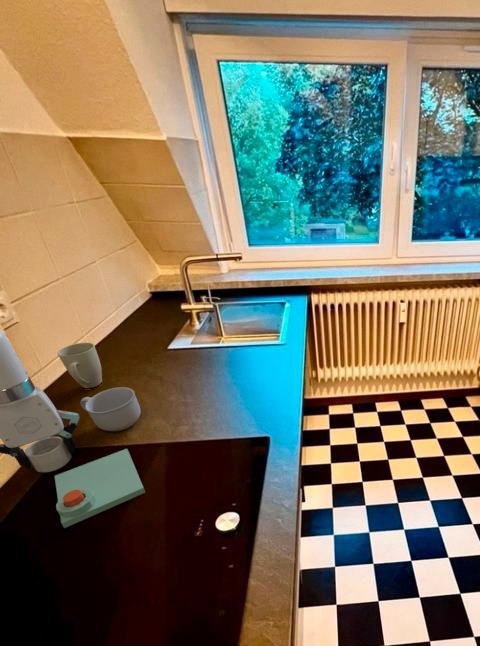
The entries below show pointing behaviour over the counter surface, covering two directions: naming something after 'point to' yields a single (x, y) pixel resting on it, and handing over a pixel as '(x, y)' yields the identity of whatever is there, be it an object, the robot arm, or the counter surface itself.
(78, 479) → the scale
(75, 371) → the mug
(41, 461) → the bowl
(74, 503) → the tare button
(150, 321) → the counter surface
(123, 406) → the teacup
